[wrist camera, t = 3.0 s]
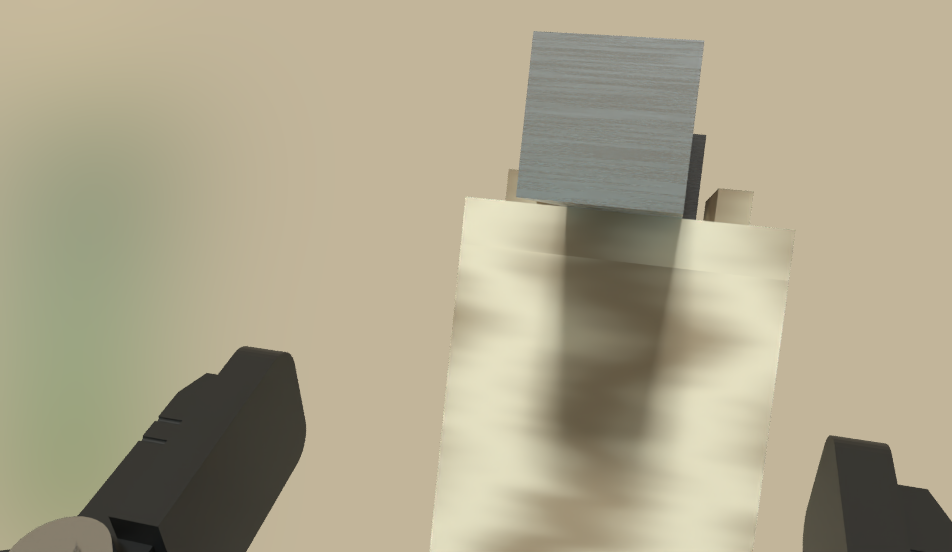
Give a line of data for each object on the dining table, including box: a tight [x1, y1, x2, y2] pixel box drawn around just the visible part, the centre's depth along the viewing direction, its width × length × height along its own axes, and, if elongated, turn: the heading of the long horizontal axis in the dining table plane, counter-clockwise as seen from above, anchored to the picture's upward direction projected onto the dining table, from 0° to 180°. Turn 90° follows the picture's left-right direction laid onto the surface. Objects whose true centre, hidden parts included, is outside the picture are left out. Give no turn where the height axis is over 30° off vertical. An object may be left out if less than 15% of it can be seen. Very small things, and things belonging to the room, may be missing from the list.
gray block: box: [516, 31, 706, 220], centre depth 28 cm, size 5×22×4 cm, turn 167°
